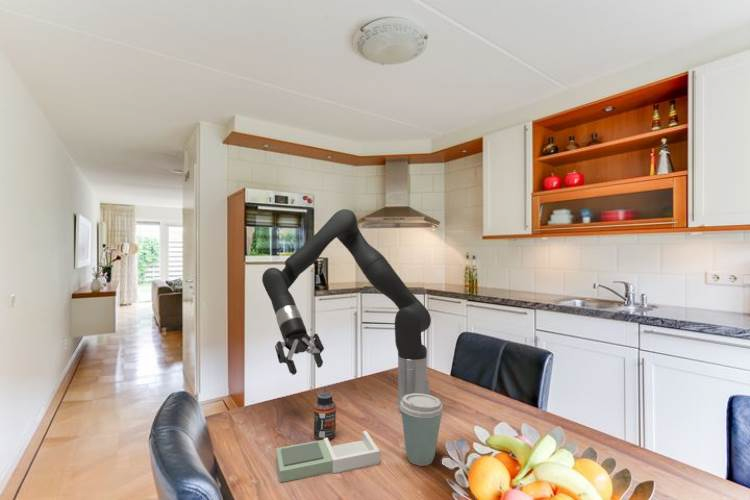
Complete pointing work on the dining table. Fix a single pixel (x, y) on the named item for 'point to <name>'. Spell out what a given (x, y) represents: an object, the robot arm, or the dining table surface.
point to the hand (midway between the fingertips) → (307, 370)
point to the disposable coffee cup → (421, 426)
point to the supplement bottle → (324, 417)
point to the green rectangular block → (303, 460)
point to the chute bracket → (353, 454)
